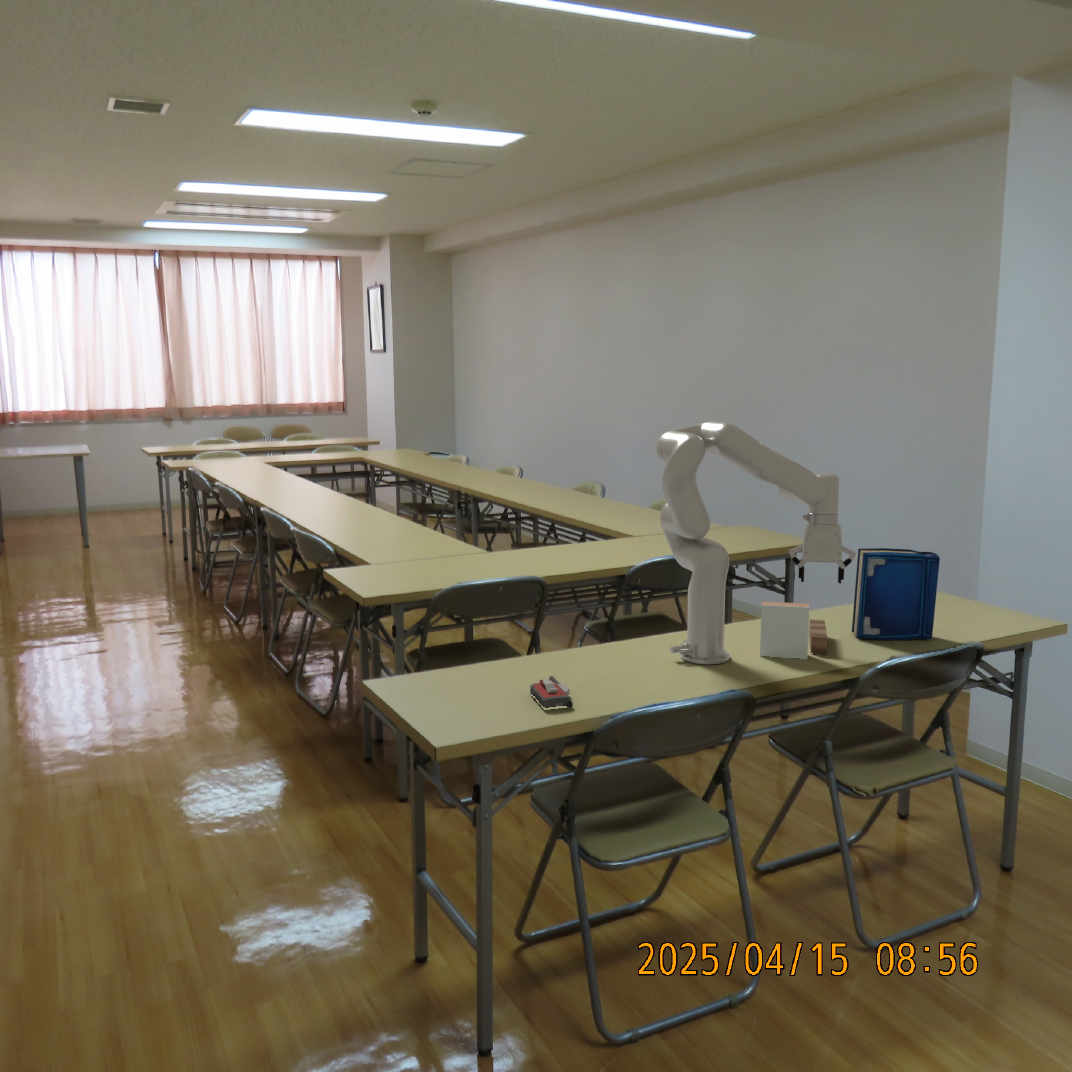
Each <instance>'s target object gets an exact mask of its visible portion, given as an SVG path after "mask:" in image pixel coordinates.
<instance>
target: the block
mask: <svg viewBox="0 0 1072 1072" xmlns="http://www.w3.org/2000/svg"><path fill="white" fill-rule="evenodd" d="M826 627H827V626H826V620H825V619H813V618H812V619H811V618H809V629H808V639H809V648H810V649H809V650H810V654H811V653H813V654H812V655H816V654H820V655H819V656H827V654H828V633H827V628H826Z"/></svg>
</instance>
